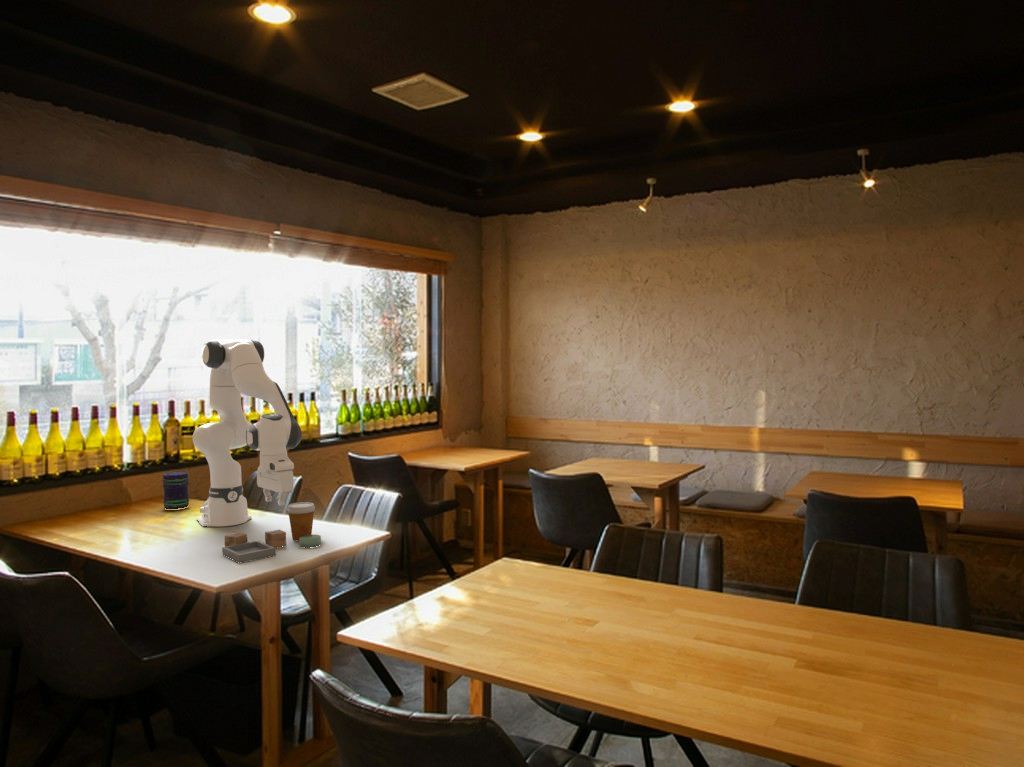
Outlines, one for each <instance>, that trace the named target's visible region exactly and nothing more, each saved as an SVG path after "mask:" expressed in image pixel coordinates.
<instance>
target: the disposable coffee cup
mask: <svg viewBox="0 0 1024 767" xmlns="http://www.w3.org/2000/svg"><path fill="white" fill-rule="evenodd" d="M315 510H316V507H315V504H314V503H313V502H307V501H305V502H294V503H290V504H289V505H288V506H287V509H286V511H287V513H288V517H289V526H290V532H291V536H292V541H294V540H297V541H296V542H300V541H299V538H300V537H301V536H304V535H313V533H312V532H313V524H314V515H315V514H314V513H315Z"/></svg>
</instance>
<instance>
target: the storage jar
mask: <svg viewBox="0 0 1024 767" xmlns="http://www.w3.org/2000/svg"><path fill="white" fill-rule="evenodd" d="M189 484H190V483H189V472H188V471H180V470H176V471H168V472H164V473H162V487H163V497H162V498H163V509H164V508H166V509H178V508H184V507H187V506H188V505H189V504H190V494H189ZM189 506H190V505H189Z"/></svg>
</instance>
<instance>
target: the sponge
mask: <svg viewBox="0 0 1024 767" xmlns="http://www.w3.org/2000/svg"><path fill="white" fill-rule="evenodd" d="M298 542H299V548H301V547H305V548H304V549H311V548H310V547H315V548H317V547H316V546H319V545H321V546H322V535H320V534H312V535H304V536H301V537H300V538H299V541H298ZM319 547H320V546H319Z"/></svg>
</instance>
